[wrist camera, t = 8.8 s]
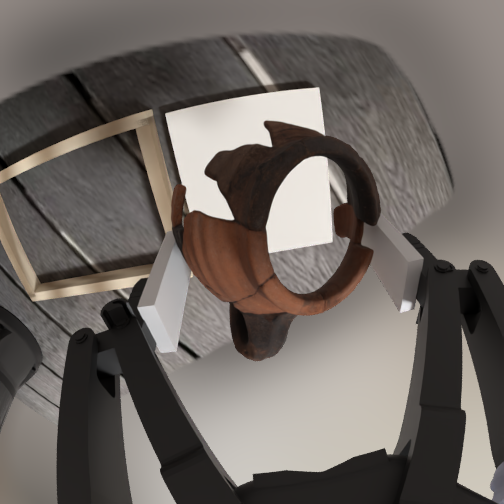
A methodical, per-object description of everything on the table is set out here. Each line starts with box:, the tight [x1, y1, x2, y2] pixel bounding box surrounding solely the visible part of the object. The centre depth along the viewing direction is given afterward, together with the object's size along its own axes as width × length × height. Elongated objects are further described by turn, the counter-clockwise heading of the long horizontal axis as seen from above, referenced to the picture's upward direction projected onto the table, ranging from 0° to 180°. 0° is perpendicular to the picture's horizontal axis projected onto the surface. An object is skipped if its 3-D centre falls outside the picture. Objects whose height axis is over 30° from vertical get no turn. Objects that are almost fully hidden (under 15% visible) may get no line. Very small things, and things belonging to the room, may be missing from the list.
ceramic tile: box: [165, 88, 332, 253], centre depth 27 cm, size 13×15×1 cm
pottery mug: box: [171, 120, 381, 361], centre depth 15 cm, size 12×10×8 cm
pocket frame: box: [0, 109, 193, 301], centre depth 27 cm, size 22×16×2 cm
